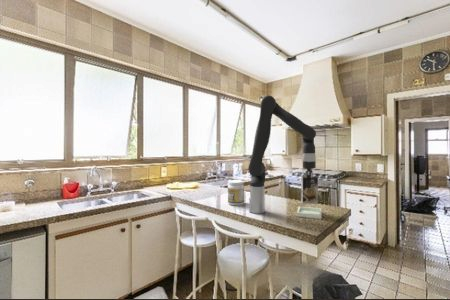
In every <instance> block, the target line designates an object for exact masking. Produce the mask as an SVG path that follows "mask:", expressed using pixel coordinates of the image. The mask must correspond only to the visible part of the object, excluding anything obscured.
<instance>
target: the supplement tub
mask: <svg viewBox="0 0 450 300" xmlns="http://www.w3.org/2000/svg"><path fill="white" fill-rule="evenodd" d="M227 203H228V204H229V205H230V206H234V205H238V206H241V205H244V204H245V185H244V181H243V180H240V179H235V180H234V179H232V180H229V181H228V185H227Z"/></svg>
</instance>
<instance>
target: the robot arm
mask: <svg viewBox="0 0 450 300" xmlns="http://www.w3.org/2000/svg"><path fill="white" fill-rule="evenodd" d="M259 113H260V114H259V119H258V123H257V126H256V130H255V134H254V140H253V147H252V153H251V156H250V157H251V158H250V160H249V163H248V173H249V174H250V176H251V179H250V182H249V192H250V193H249V194H250V196H249V198H248V200H249V201H248V202H249V203H248V204H249V213H252V214H256V215H257V214H264V213H265V209H266V208H265V207H266V206H265V203H266V202H265V182H266V166H265V163H264V162H263V159H264V154H265V152H266V150H267V148H268V145H269V142H270V137H271V130H272V118H273V115H274V116H276V117H277V118H278V119H279V120H281V121H282V122H283V123H284V124H286V125H287V126H288V127H289V128H291V129H292V130H294V131H295V132H297V133H299V134H300V135H302V144H303V147H302V149H303V150H302V154H303V155H302V168H303V169H306V170H305V177H306V181H307V188H311V179H312V177H313V169H316V167H317V166H316V163H317V162H316V161H317V160H316V159H317V157H316V145H315V138H316V136H317V132H316V130H315V129H314V128H313V127H312V126H310V125H308V124H306V123H305V122H303V121H302V120H301V119H299V118H298V117H297V116H295V115H294V114H292V113H290V112H289V111H288V110H286V109H284V108H283V107H282V106H281V105H279V103H278V102H277V101H276V99H275V97H274V96H272V95H265V96H263V97H262V99H261V101H260V111H259ZM308 178H310V179H308Z"/></svg>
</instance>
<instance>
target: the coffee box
mask: <svg viewBox="0 0 450 300" xmlns="http://www.w3.org/2000/svg"><path fill="white" fill-rule="evenodd" d="M300 178H301V179H300V180H301V181H300V182H301V183H300V184H301V185H300V201H301V203H302V204H308V205H311V204H312V205H318V204H319V202H318V201H319V197H318V196H319V178H318V177H317V176H312V179H311V188H307V181H306V176H302V175H301V176H300ZM308 179H310V178H308Z"/></svg>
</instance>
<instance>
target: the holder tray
mask: <svg viewBox="0 0 450 300" xmlns="http://www.w3.org/2000/svg"><path fill="white" fill-rule="evenodd" d="M322 210H323V209H322V208H320V207H308V206H306V207H305V206H298V208H297V211H296V218H297V217H298V218H306V219H315V220H322V215H323V214H322Z"/></svg>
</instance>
